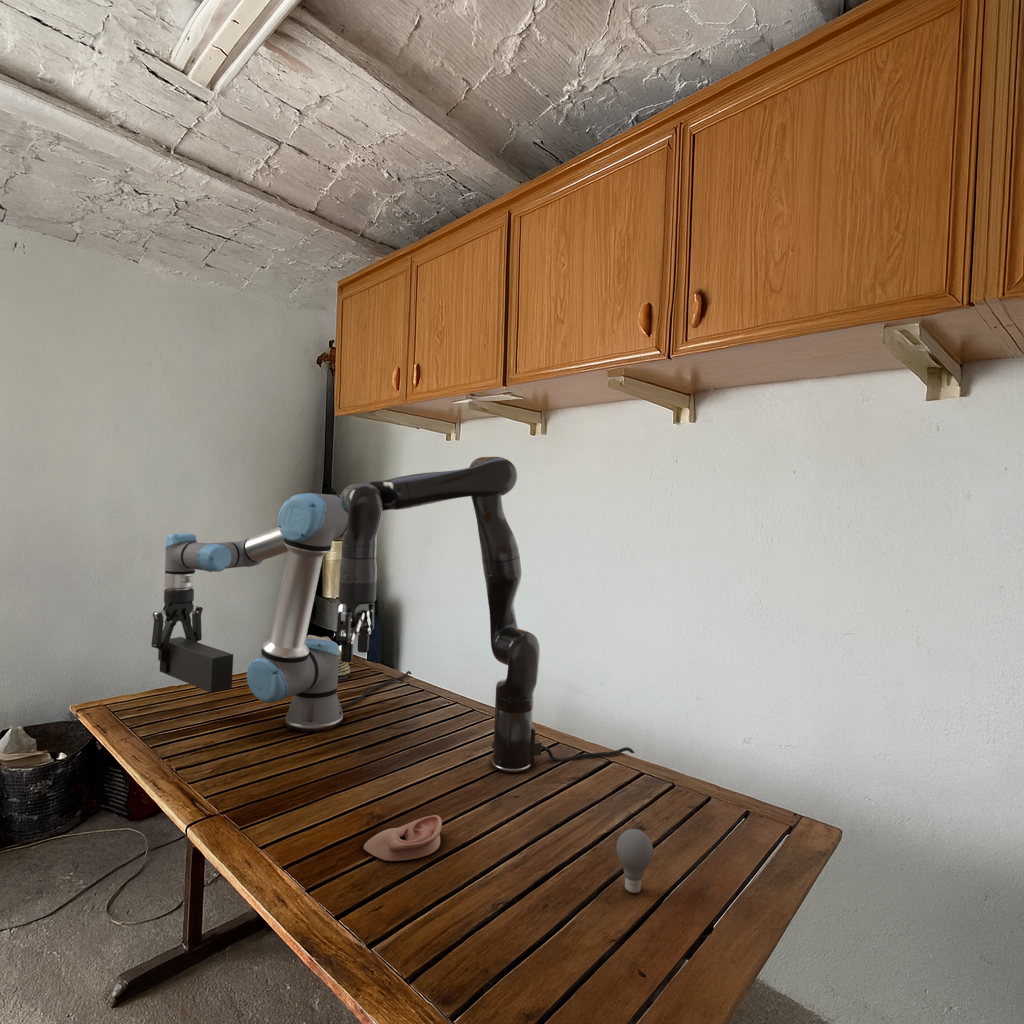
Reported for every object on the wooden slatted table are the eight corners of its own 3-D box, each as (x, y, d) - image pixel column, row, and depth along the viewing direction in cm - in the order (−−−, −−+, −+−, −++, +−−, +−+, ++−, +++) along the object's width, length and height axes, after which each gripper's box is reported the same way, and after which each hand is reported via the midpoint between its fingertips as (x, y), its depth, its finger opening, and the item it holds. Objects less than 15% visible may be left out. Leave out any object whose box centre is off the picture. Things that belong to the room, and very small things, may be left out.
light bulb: (610, 879, 108) (613, 822, 108) (644, 879, 109) (647, 822, 109) (619, 902, 102) (622, 840, 102) (655, 901, 103) (658, 840, 103)
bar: (159, 671, 179) (160, 639, 179) (180, 667, 184) (181, 636, 183) (210, 692, 164) (212, 658, 163) (231, 687, 168) (233, 654, 168)
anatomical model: (356, 833, 112) (382, 804, 123) (355, 856, 112) (381, 824, 123) (428, 845, 109) (448, 813, 121) (427, 868, 109) (447, 834, 121)
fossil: (290, 679, 215) (292, 635, 215) (341, 671, 228) (342, 629, 227) (301, 686, 209) (303, 640, 208) (353, 677, 221) (354, 634, 221)
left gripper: (154, 593, 169) (150, 679, 169) (218, 586, 185) (214, 664, 186) (137, 590, 172) (134, 674, 173) (201, 583, 189) (198, 660, 190)
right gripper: (362, 584, 124) (358, 667, 124) (387, 576, 138) (384, 650, 138) (325, 582, 125) (322, 663, 125) (354, 574, 139) (351, 647, 139)
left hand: (176, 669), depth 179 cm, fingers closed on bar, 6 cm apart
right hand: (355, 656), depth 132 cm, fingers open, 8 cm apart
